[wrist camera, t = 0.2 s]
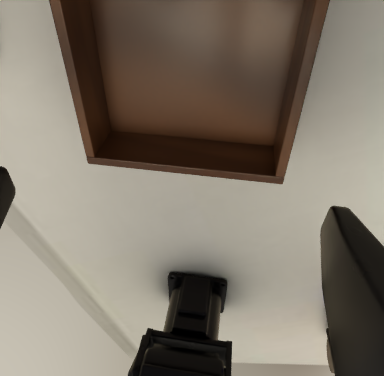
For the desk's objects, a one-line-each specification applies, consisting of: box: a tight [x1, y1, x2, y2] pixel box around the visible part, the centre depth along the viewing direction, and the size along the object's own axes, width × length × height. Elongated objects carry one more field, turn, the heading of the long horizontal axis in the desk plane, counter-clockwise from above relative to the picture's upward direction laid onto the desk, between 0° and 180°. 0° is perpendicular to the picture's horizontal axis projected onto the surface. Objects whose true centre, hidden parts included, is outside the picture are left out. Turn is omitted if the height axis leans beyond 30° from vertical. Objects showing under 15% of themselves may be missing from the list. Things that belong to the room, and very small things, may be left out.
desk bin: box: [49, 0, 330, 184], centre depth 20 cm, size 13×13×4 cm
